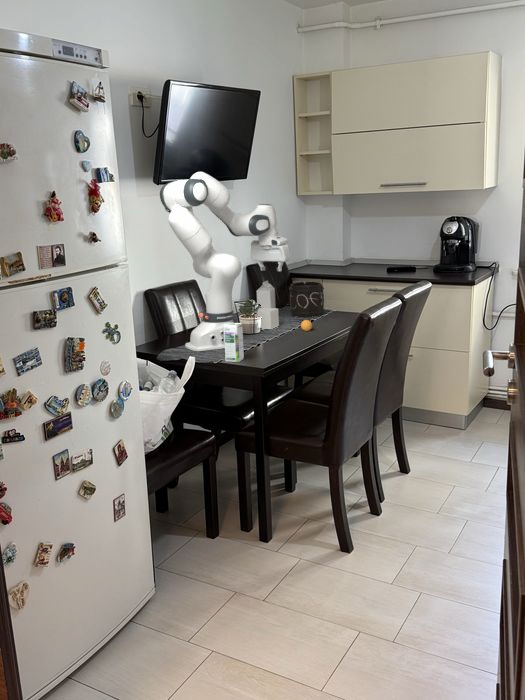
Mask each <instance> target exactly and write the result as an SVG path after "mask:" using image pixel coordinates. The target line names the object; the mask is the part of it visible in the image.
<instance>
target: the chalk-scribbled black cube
mask: <svg viewBox="0 0 525 700" xmlns="http://www.w3.org/2000/svg"><path fill="white" fill-rule="evenodd" d="M324 289H325V288H324V286H323V284H322V283H321V281H320V282H318V281H305V282H304V281H299V282H293V283H291V284H290V286H288V290H289V307H290V309H289V312H290V314H291V315H292V317H294V316H298V317H297V318H299V317H310V318H313V317H312V316H318V317H320V316H323V313H325V308H324V306H325V305H324V304H325V294H324ZM319 315H320V316H319Z"/></svg>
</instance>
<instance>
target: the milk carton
mask: <svg viewBox="0 0 525 700" xmlns="http://www.w3.org/2000/svg"><path fill="white" fill-rule="evenodd" d="M257 303H258V304H260V305H261V308H260V309H262V308H276V289H275V287H274V286H273V285H272V284H271V283H269V280H266V281H263V282H262V285H261V286H260V287H259V288H258V289H257V290H256V304H257Z"/></svg>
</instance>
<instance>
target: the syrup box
mask: <svg viewBox="0 0 525 700" xmlns="http://www.w3.org/2000/svg"><path fill="white" fill-rule="evenodd" d="M243 333H244V331H243V322H234V323H227V324H225V325H224V341H225V348H224V353H225V355H224V356H225V358H224V359H225V362H233V363H240V362H241V361H242V360H244V359H245V357H244V334H243Z"/></svg>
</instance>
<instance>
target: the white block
mask: <svg viewBox="0 0 525 700" xmlns="http://www.w3.org/2000/svg"><path fill="white" fill-rule="evenodd" d="M257 314H258V315H260V316H261V317H262V319H261V328H262V329H261V330H264V329H273V328H275V327H277V328H279V327H280V323H279V321H280V320H279V308H276V307H275V308H262V309H259V311H258V312H257V311H256V315H257ZM278 326H279V327H278ZM275 329H276V328H275ZM273 330H274V329H273Z"/></svg>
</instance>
